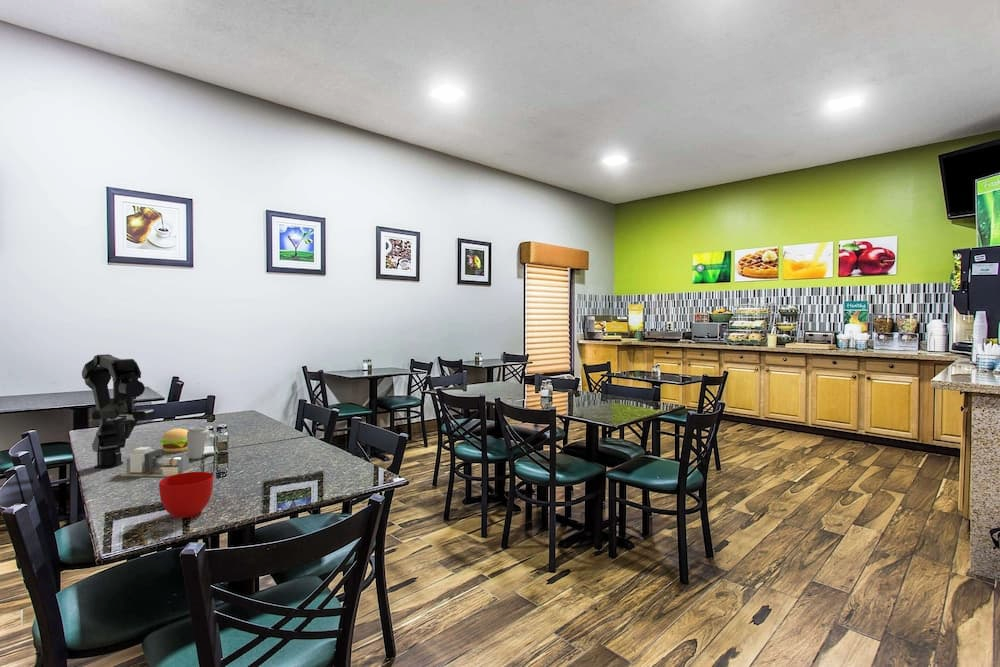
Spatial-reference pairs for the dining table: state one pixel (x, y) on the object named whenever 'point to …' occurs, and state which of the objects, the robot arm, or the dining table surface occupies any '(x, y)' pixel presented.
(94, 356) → the robot arm
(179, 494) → the red bowl
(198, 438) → the can
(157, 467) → the block
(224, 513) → the dining table surface
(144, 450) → the bracket
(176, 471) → the beige mechanical fixture
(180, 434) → the hamburger
